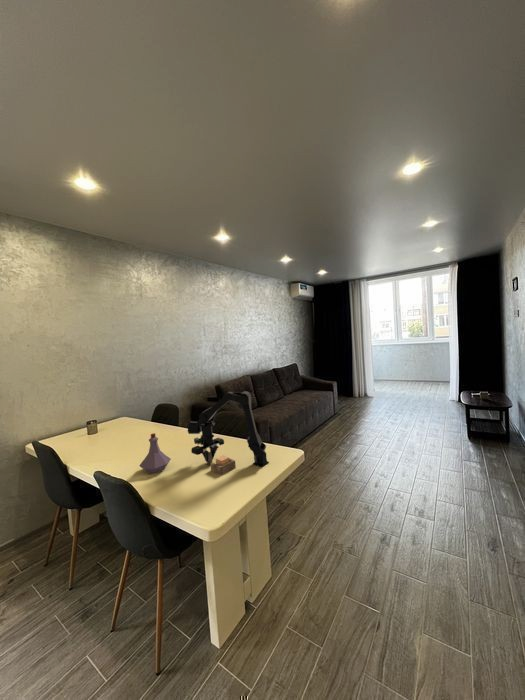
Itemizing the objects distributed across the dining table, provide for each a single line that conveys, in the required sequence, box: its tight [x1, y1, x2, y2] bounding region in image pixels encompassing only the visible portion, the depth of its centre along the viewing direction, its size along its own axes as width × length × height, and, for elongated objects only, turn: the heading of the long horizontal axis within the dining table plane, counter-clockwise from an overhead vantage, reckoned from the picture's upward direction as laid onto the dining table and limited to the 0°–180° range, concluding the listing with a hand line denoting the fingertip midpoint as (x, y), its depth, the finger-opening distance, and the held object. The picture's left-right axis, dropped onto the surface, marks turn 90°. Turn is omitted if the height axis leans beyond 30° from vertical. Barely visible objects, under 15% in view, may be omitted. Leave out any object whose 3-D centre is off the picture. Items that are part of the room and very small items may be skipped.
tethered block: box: [206, 451, 230, 466], centre depth 146 cm, size 16×5×6 cm, turn 48°
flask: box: [138, 432, 172, 475], centre depth 147 cm, size 16×16×20 cm
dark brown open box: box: [209, 457, 237, 476], centre depth 142 cm, size 9×10×4 cm
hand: (209, 460), depth 150 cm, fingers closed on tethered block, 3 cm apart
